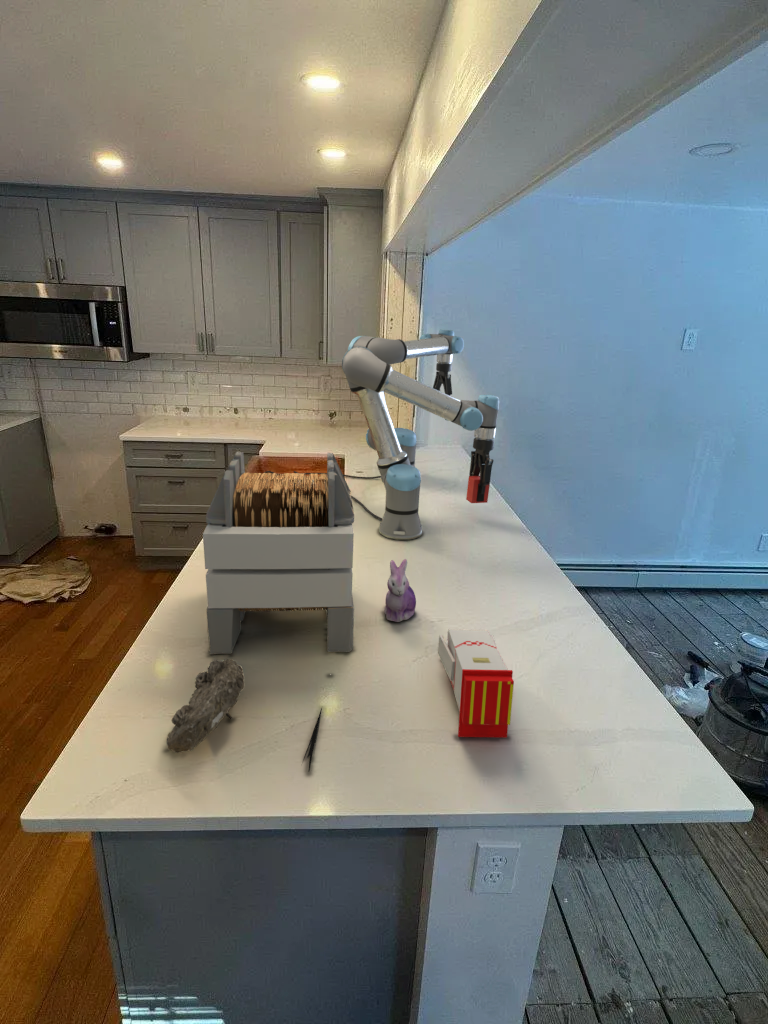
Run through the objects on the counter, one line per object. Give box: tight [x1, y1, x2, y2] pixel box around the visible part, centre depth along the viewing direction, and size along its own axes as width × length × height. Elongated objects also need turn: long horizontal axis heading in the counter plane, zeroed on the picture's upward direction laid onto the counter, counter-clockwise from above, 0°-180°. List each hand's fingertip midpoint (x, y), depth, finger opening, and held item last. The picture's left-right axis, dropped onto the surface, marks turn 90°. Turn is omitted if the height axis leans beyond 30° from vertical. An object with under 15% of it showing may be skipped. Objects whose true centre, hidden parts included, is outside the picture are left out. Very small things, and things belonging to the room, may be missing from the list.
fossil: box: [166, 658, 245, 754], centre depth 106 cm, size 22×10×15 cm
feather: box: [301, 673, 332, 771], centre depth 108 cm, size 2×28×2 cm
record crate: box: [202, 451, 355, 655], centre depth 137 cm, size 34×33×41 cm
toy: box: [437, 628, 515, 738], centre depth 117 cm, size 12×13×30 cm
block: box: [465, 475, 491, 504], centre depth 213 cm, size 5×7×9 cm
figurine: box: [384, 558, 417, 623], centre depth 145 cm, size 9×10×15 cm
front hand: (476, 498), depth 214 cm, fingers closed on block, 5 cm apart
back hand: (441, 406), depth 285 cm, fingers open, 13 cm apart
